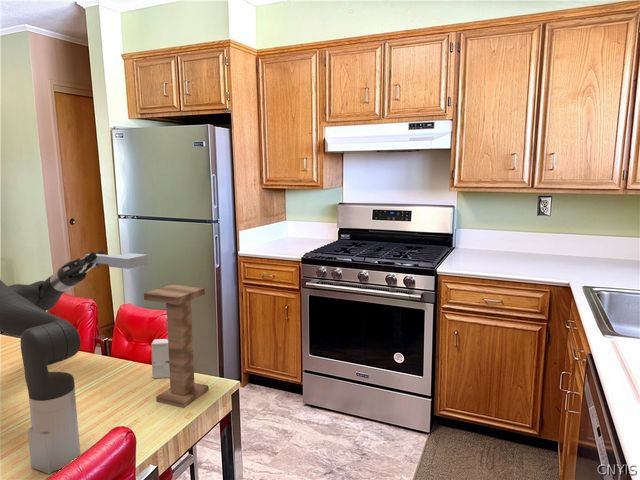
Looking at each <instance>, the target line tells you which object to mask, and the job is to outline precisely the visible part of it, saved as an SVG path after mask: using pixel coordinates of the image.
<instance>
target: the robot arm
mask: <svg viewBox="0 0 640 480" xmlns="http://www.w3.org/2000/svg"><path fill="white" fill-rule="evenodd" d="M88 254H89V255H88V256H86V255H85V256H83V257H82V258H77V259H75V260H70V261H68V262H66V263H65V264H64V265H62V266H61V267H59V268H58V269H57V270H55V272H53V273H52V274H51V275H50V276H48V277H47V278H45V280H39V281H35V282H33V283H30V284H22V283H20V284H18V283H16V284H11V285H9V286H7V285H6V283H4V281H2V279H0V332H2V333H5V334H7V335H9V336H10V335H11V336H13V337H20V353H21V358H22V364H23V370H24V376H25V383H26V387H27V393H28V400H29V401H28V403H29V412H30V423H31V427H30V428H28V429H27V437H28V438H27V439H28V446H29V456H30V457H29V458H30V467H31V468H32V469H34V470H36V471H40V472H42V473H44V474H48V475H50V474H51V473H53V472H55V471H59V470H62V469H64V468H63V467H64V466H66V465H67V464H69V463H70V462H71V461H72V460H74V459H75V458H77V457H78V456H79V457H80V456H81V448H80V447H81V446H80V433H79V432H80V431H79V422H78V409H77V398H76V385H75V377H74V375H72V374H71V373H69V372H66V371H65V372H64V371H49V369H48V366H51V365H53V364H56V363H59V362H62V361H65V360H68V359H70V358H73V357H74V356H75V355H76V354H78V353H79V351H80V349H81V347H82V339H81V336H80V332H79V331H78V329H77V328H76V327H75V326H74V325H73V324H72V323H71V322H70V321H68V320H67V319H64V318H62V317H59V316H57V315H55V314H53V313H50V312H48V311H49V310H51V309H52V308H54V306H56V305H57V303H58V302H59V300H60V299H61V297H62V295H63V294H65V293H66V292H67V291H69V290H71V289H72V288H74V287H76V286H77V285H78V284H80V283H81V282H82V281H84V280H85V278H86V277H87V273H88V272H90V270H92V269H93V268H95V267H96V268H100V267H101V266H102V264H101V263H91V262H92V261H93V260H95V259H96V258H97V256H96V254H103V255H105V252H104V251H103V250H99V251H98V252H95V251H92V252H90V253H88ZM61 468H62V469H61Z"/></svg>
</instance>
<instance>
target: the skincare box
mask: <svg viewBox="0 0 640 480" xmlns="http://www.w3.org/2000/svg"><path fill="white" fill-rule="evenodd" d="M151 370H152V375H151V376H152V379H159V378H160V379H164V378H170V368H169V349H168V338H162V339H161V338H159V339H158V338H157V339H153V341H152V343H151Z"/></svg>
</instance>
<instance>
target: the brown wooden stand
mask: <svg viewBox="0 0 640 480" xmlns="http://www.w3.org/2000/svg"><path fill="white" fill-rule="evenodd" d="M205 294H206V292H205V287H197V286H190V285H182V284H181V285H179V284H173V283H172V284H169V285H166V286H163V287H160V288H156V289H152V290H149V291H146V292H144V293H143V300H144V301H148V302H149V301H150V302H157V303H162V304H163V303H164V304H165V305H166V306H165V308H166V325H167V326H166V329H167V339H168V349H169V368H170V377H169V380H170V381H169V382H170V383H169V384H170V388H168V389H166V390H164V391H163V392H161V393H159V394H158V395H156V396H155V400H156V402H158V403H162V404H165V405H170V406H173V407H178V408H180V409H181V408H182V409H184V408H185V407H186V406H187V407H188V405H189V404H190V403H192V402H194V401H195V400H197V399H198V398H200V397H202V395H204V394H205V393H207V392H208V391H209V385H207V384H201V383H197V382H195V364H194V343H193V341H194V340H193V321H192V300H194V299H197V298H199V297H202V296H204V295H205Z"/></svg>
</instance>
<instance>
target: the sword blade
mask: <svg viewBox="0 0 640 480" xmlns="http://www.w3.org/2000/svg"><path fill="white" fill-rule="evenodd" d="M89 254H90V253H87V254H86V253H85V257H86V256H88V255H89ZM96 256H97V258H96V259H95V260H93V261H92V262H91V263H101V265H108V267H110V268H117V269H125V270H126V269H127V270H130V269H134V268H137V267H142V266H146V265H149V255H148V254H146V253H145V254H144V253H143V254H142V253H135V252H134V253H132V252H127V253H123V254H116V255H115V254H114V255H113V254H104V255H103V254H96Z"/></svg>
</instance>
